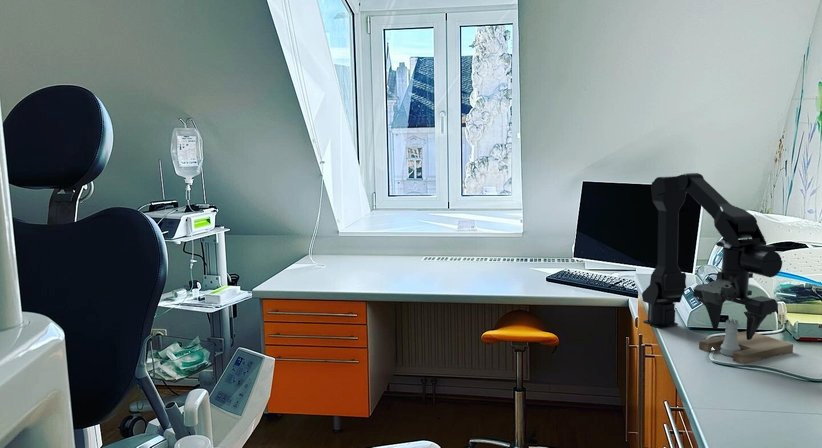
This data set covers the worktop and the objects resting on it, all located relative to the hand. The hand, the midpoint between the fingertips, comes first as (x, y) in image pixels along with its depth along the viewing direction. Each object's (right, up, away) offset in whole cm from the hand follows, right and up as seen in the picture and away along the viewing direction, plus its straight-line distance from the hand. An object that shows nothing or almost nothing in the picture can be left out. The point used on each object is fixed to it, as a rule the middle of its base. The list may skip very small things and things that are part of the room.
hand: (731, 333), depth 159 cm
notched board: (+5, -4, +3) cm, 7 cm away
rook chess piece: (0, -5, +1) cm, 5 cm away
